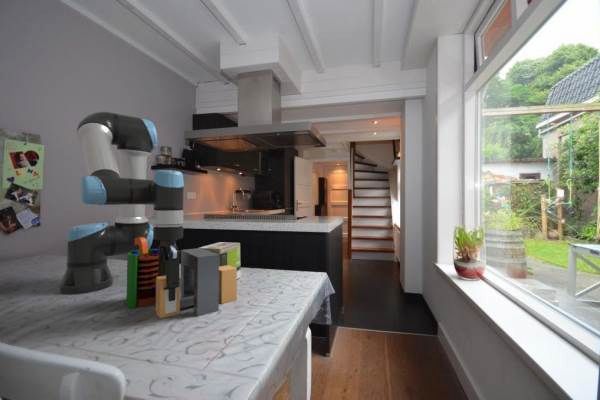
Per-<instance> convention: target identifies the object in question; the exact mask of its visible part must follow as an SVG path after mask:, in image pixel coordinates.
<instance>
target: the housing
mask: <svg viewBox="0 0 600 400" xmlns="http://www.w3.org/2000/svg"><path fill="white" fill-rule="evenodd" d="M190 296H194V305H193V314H194V315H195V316H196V317H200V316H201V317H202V316H204V315H208V314H212V313H215V312H219V309H220V308H219V306H220V304H219V303H220V302H219V255H218V254H216V253H213V252H210V251H207V250H204V249H201V248H200V247H197V248H188V249H181V250H180V298H185V297H190Z"/></svg>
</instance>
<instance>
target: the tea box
mask: <svg viewBox="0 0 600 400" xmlns="http://www.w3.org/2000/svg"><path fill="white" fill-rule="evenodd" d="M199 248H201V249H204V250H207V251H210V252H213V253H216V254H218V255H219V267H220V266H226V265H229V266H232V267H234V268H237V280H238V279H241V277H242V271H241V269H242V268H241V243H240V242H225V241H224V242H223V241H222V242H221V241H219V242H214V243H211V244H208V245H203V246H201V247H200V246H199Z"/></svg>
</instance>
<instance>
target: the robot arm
mask: <svg viewBox="0 0 600 400" xmlns="http://www.w3.org/2000/svg"><path fill="white" fill-rule="evenodd" d="M76 134H77V138H78V140H79V142H80V143H81V144H82V146H83V155H84V161H85V166H86V172H87V176H83V177H82V178H81V180H80V188H79V189H80V190H79V192H80V201H81V202H82V203H83V204H85V205H98V206H102V205H103V206H107V205H109V206H112V205H114V206H115V205H119V216H118V217H117V218H116V219H115V220H114V225H109V224H108V222H107V221H105V222H94V223H93V222H92V223H86V224H85V223H84V224H79V225H75V226H73V227H70V228H69V229H68V230H67V238H66V242H67V244H66V245H67V246H66V247H67V248H66V270H65V272H64V274H63V276H62V279H61V282H60V284H59V293H61V294H67V295H76V294H84V293H90V292H96V291H100V290H103V289H104V290H105V289H106V288H109V287H111V286H113V283H114V282H113V281H114V280H113V279H114V278H113V275H112V272H111V270H110V268H109V265H108V257H113V256H122V255H124V256H125V255H127V254H128V252H131V251H136V250H140V246H139V245H138V244H137V245H135V238H140V237H145V238H146V240H147V246H148V249H151V246H152V244H153V240H154V241H156V242H161V243H160V245H158V246H157V249H158V277H159V276H166V287H165V288H164V290H165V314H167V313H171V312H175V311H176V302H177V287H179V285H180V286H181V283H180V284H179V277H180V259H181V250H179V248H178V246H177V243H176V242H177V241H180V240H182V239H183V238H184V227H183V224H184V187H185V182H184V174H183V173H182V172H181V171H178V170H170V169H169V170H168V169H159V170H156V171H154V173H153V179H147V164H148V159H147V158H149V157H150V156H151V155H152V151H155V150H156V149H157V146H158V145H157V144H158V134H157V128H156V126H155V124H154V123H153V122H152V121H151V120H149V119H144V118H141V117H135V116H130V115H127V114H126V115H125V114H119V113H115V112H109V111H98V112H94V113H91V114H88V115H87V116H85V117H84V118H83V119H81V121H80V122H79V123H78V125H77V127H76ZM113 146H116V152H118V153H119V155H120V156H121V159H120V161H121V163H120V171H119V167H118V163H117V159H116V155H115V152H114V149H113ZM146 205H147V206H148V205H152V206H153V213H152V214H151V216H150V217H151V218H152V219H153V225H154V226H153V225H152V224H151V223H150V222H149V219H148V218H147V217H146V215H145V214H146V212H145V211H146Z"/></svg>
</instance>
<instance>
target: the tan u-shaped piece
mask: <svg viewBox="0 0 600 400" xmlns="http://www.w3.org/2000/svg"><path fill="white" fill-rule="evenodd" d="M237 282H238V279H237V268H234V267H232V266H229V265H226V266H220V267H219V303H220V304H222V305H223V304H227V303H230V302H234V301H237V300H238V298H237V297H238V294H237V293H238V290H237V289H238V287H237V286H238V283H237ZM179 284H180V285H179V287H177V302H176V311H175V312H171V313H167V314H165V290H164V288H165V287H166V276H159V277H156V304H155V313H156V315H157V316H158V318H159V319H165V318H168V317H169V318H170V317H172V316H177V315H180V314H181V308H186V307H190V306H194V296H190V297H185V298H181V276H179Z"/></svg>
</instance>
